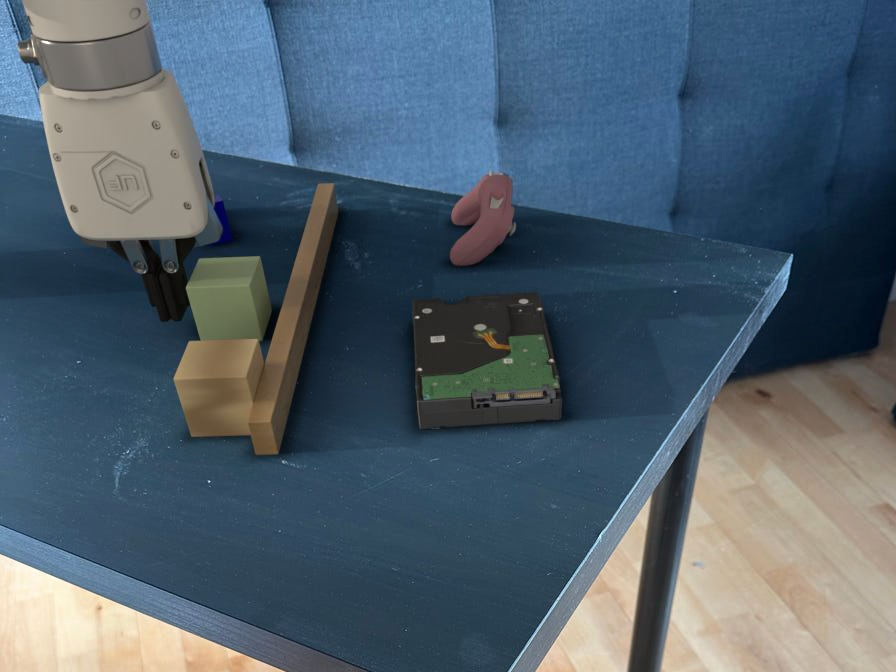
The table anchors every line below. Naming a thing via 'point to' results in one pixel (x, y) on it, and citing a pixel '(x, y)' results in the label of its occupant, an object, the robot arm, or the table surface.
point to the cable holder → (222, 220)
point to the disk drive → (484, 362)
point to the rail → (293, 326)
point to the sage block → (229, 298)
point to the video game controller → (483, 219)
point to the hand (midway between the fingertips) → (175, 313)
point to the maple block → (219, 385)
